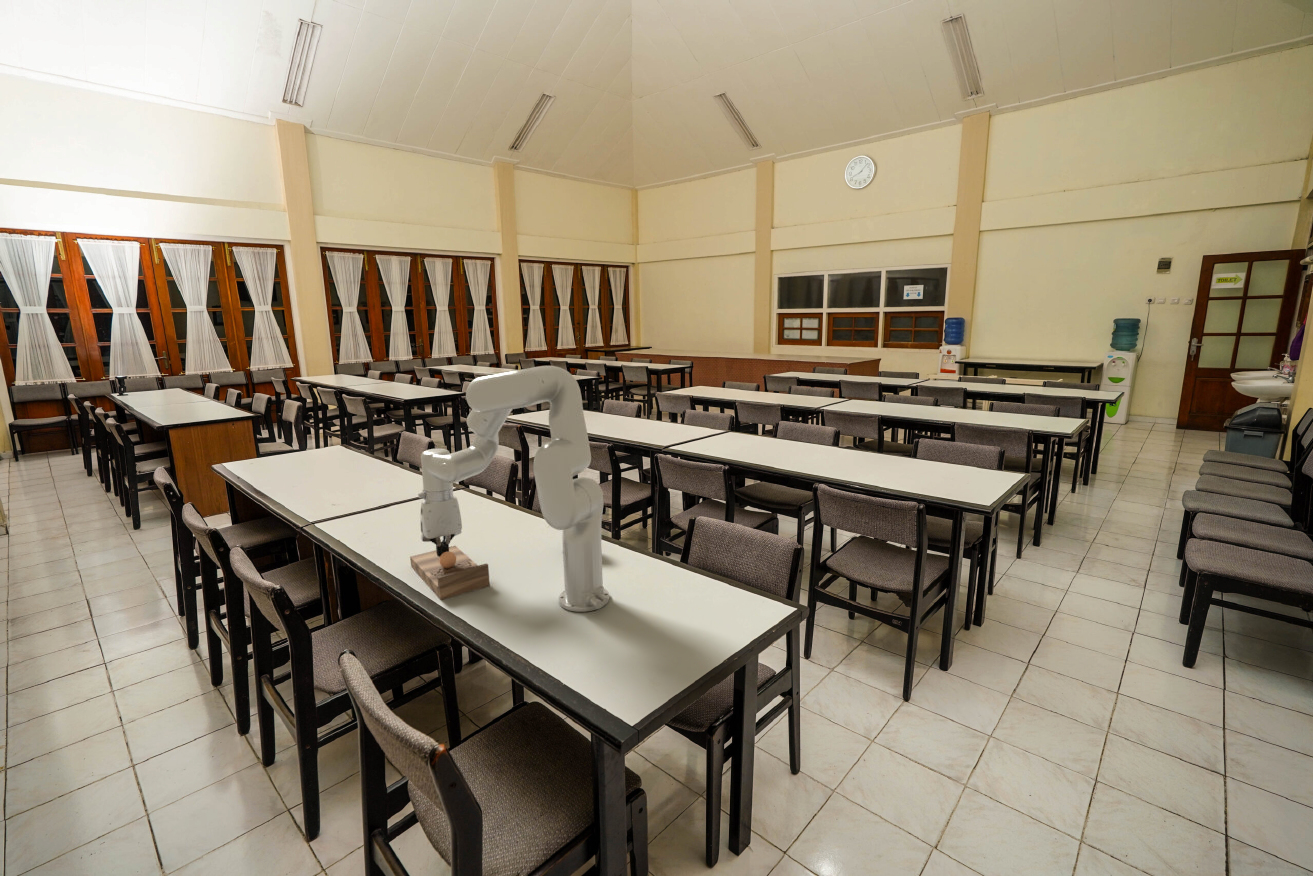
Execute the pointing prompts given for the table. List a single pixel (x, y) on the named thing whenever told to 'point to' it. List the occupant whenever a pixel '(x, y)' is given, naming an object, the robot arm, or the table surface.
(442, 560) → the ball
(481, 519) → the table surface
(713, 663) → the table surface
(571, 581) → the robot arm
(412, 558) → the brown piece
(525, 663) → the table surface
